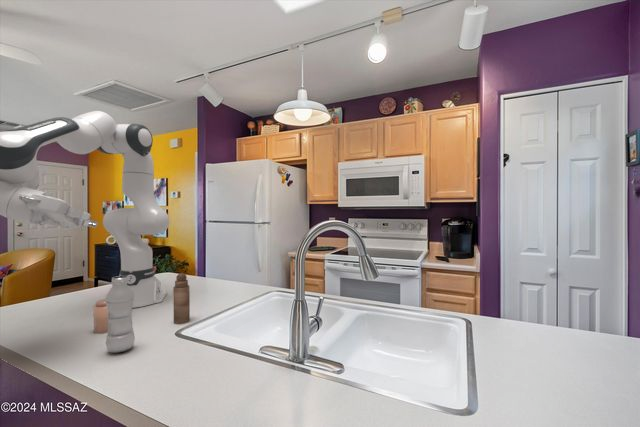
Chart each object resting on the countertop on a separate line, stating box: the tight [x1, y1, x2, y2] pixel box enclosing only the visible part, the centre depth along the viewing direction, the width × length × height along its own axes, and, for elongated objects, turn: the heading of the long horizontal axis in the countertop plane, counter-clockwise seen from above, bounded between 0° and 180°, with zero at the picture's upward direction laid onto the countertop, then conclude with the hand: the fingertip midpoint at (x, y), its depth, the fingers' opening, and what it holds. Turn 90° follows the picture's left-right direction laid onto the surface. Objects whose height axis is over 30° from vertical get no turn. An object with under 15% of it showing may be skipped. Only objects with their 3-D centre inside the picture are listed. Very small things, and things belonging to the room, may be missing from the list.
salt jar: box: [93, 299, 109, 334], centre depth 95 cm, size 6×6×9 cm
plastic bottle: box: [104, 275, 136, 354], centre depth 81 cm, size 6×7×20 cm
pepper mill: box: [172, 272, 191, 325], centre depth 103 cm, size 5×5×17 cm
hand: (93, 221), depth 84 cm, fingers open, 8 cm apart
